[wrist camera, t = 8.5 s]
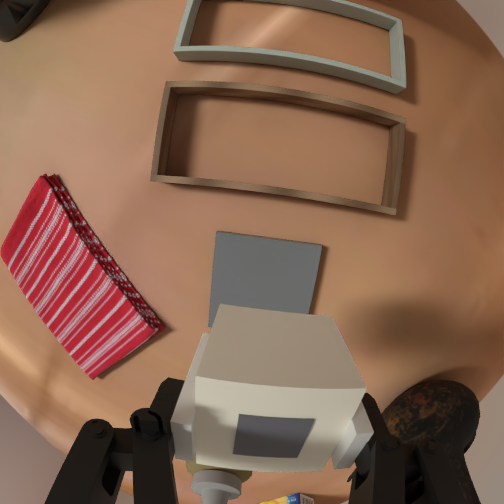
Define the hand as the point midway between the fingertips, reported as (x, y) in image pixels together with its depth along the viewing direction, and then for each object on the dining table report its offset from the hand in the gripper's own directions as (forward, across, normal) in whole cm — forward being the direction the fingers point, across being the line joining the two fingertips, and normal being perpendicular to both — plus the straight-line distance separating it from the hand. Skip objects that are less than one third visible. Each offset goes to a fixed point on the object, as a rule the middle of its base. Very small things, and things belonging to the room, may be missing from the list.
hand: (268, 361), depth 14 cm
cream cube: (0, 0, 0) cm, 0 cm away
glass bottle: (+14, +26, -19) cm, 35 cm away
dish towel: (+14, -24, -4) cm, 28 cm away
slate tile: (+13, 0, 0) cm, 13 cm away
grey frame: (+13, 0, +26) cm, 30 cm away
